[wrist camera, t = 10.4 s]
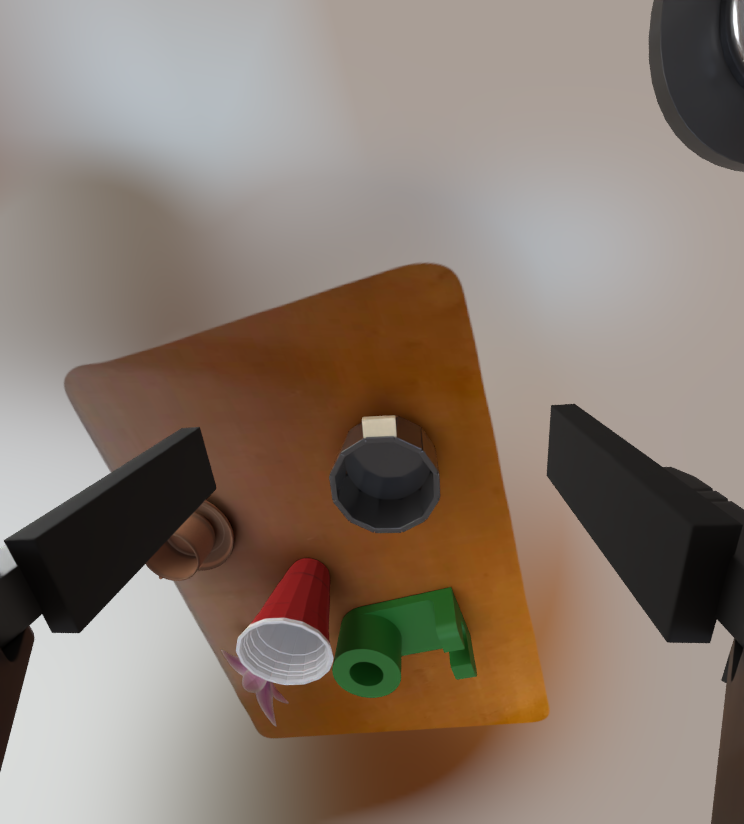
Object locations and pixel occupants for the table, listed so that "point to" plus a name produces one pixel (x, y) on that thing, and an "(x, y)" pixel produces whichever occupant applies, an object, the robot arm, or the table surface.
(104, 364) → the table surface
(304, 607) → the plastic cup
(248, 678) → the lily
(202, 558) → the cup and saucer
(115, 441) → the table surface
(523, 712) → the table surface
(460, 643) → the green bracket
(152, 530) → the robot arm
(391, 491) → the cooking pot
